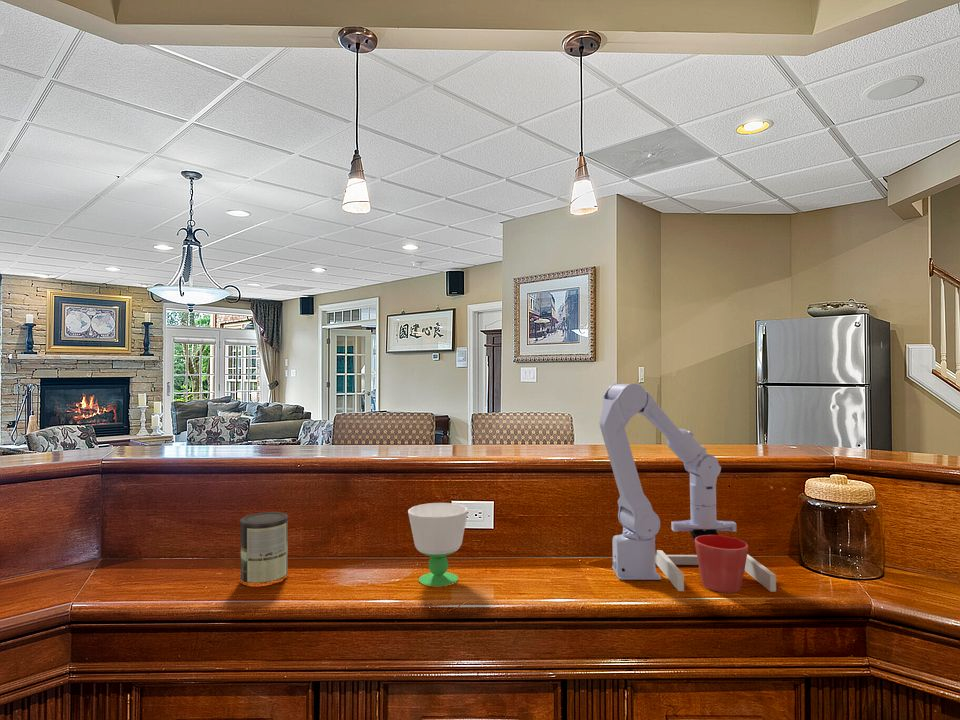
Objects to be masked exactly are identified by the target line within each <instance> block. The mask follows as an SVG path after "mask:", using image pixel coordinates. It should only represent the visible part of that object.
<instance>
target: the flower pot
mask: <svg viewBox="0 0 960 720" xmlns="http://www.w3.org/2000/svg"><path fill="white" fill-rule="evenodd" d="M694 545H695V551H696V555H697V558H698V564H699V565H698V570H699V573H700V574H699V576H700V579H701V583H702V585H703V586H704V588H707V589H708V590H711V591H714V592H719V593H737V592H739V591H740V590H741V589H742V584H743V579H744V575H745V564H746V559H747V554H748V552H749V544H748V543H747V542H746V541H744V540H742V539H739V538H736V537H733V536H728V535H720V534H718V535H702V536H698V537H696V538H695V541H694Z"/></svg>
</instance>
